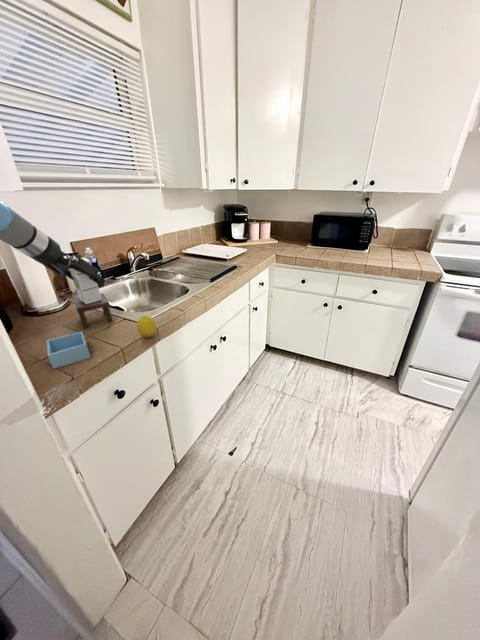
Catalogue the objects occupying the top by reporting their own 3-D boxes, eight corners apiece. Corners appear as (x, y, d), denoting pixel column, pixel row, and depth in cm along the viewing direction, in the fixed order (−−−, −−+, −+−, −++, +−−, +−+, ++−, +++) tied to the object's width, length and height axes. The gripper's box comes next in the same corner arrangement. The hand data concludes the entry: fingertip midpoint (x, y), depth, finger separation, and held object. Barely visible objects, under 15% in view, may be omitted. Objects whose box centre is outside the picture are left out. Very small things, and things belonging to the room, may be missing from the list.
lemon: (160, 334, 87) (157, 313, 83) (149, 343, 82) (144, 321, 79) (147, 331, 89) (143, 310, 85) (135, 339, 84) (130, 317, 81)
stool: (79, 318, 97) (73, 299, 94) (108, 311, 102) (103, 293, 99) (83, 329, 90) (76, 308, 86) (113, 321, 95) (108, 301, 91)
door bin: (51, 352, 78) (46, 340, 76) (86, 343, 82) (82, 331, 80) (53, 368, 71) (47, 355, 69) (90, 357, 76) (86, 344, 74)
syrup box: (102, 299, 93) (91, 259, 86) (85, 305, 89) (72, 263, 82) (95, 295, 96) (84, 256, 89) (78, 300, 92) (65, 260, 85)
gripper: (74, 235, 71) (121, 274, 92) (11, 233, 74) (71, 271, 96) (66, 259, 69) (116, 293, 90) (1, 256, 72) (64, 290, 93)
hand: (92, 282), depth 93 cm, fingers closed on syrup box, 7 cm apart
